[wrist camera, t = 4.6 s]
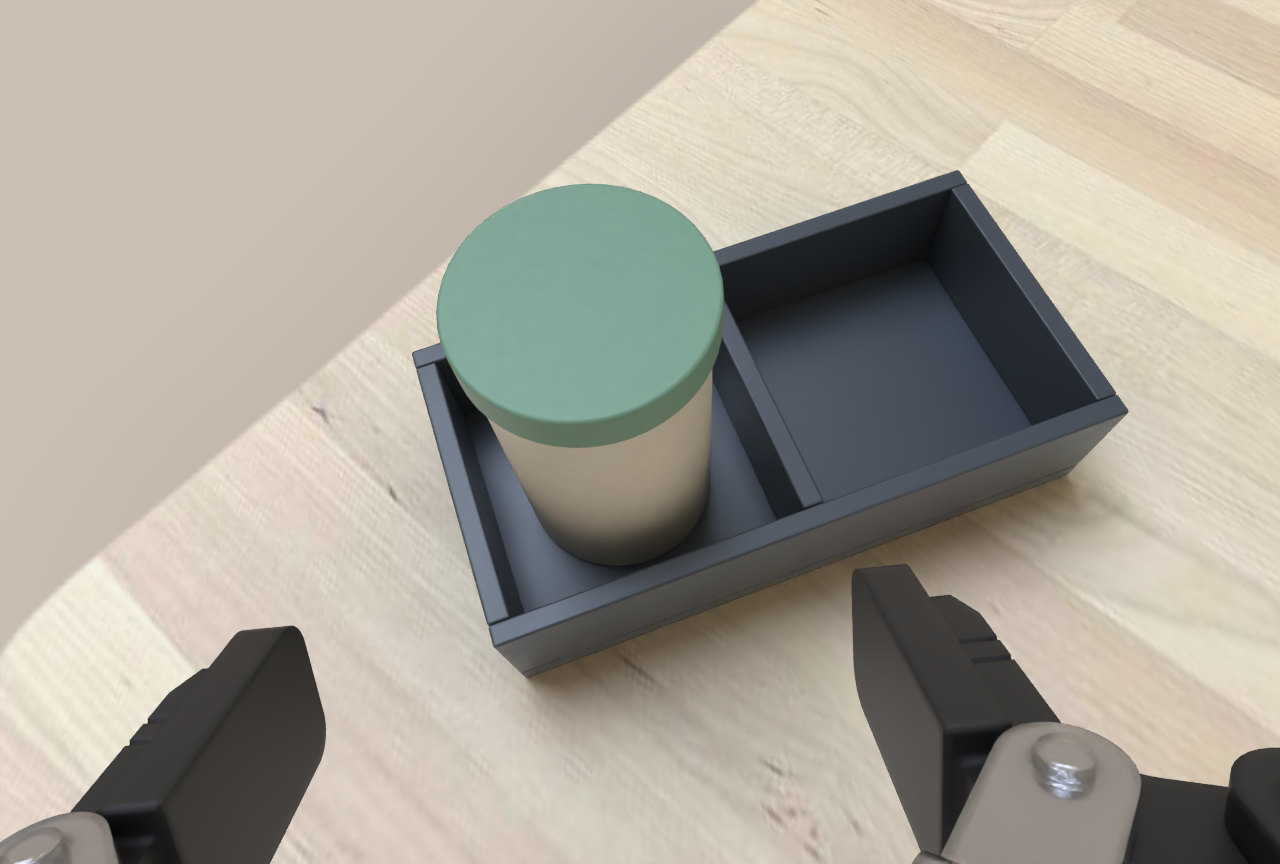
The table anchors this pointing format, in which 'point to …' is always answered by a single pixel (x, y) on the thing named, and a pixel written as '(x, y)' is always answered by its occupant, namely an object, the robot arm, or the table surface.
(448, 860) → the table surface
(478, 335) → the container
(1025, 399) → the divided tray
